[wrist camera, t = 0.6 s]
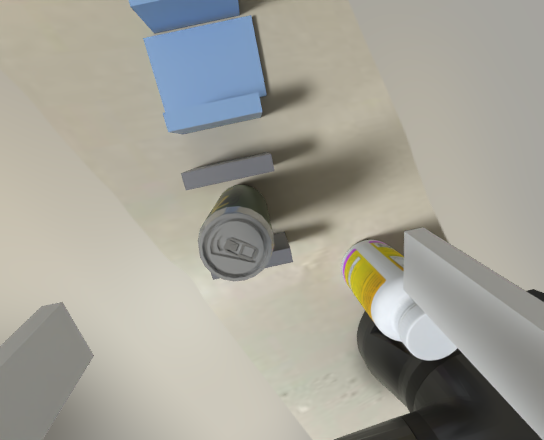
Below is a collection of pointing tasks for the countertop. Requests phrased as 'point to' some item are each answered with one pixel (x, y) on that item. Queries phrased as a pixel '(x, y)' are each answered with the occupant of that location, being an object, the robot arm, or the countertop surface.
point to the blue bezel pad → (206, 63)
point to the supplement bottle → (392, 299)
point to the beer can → (237, 235)
